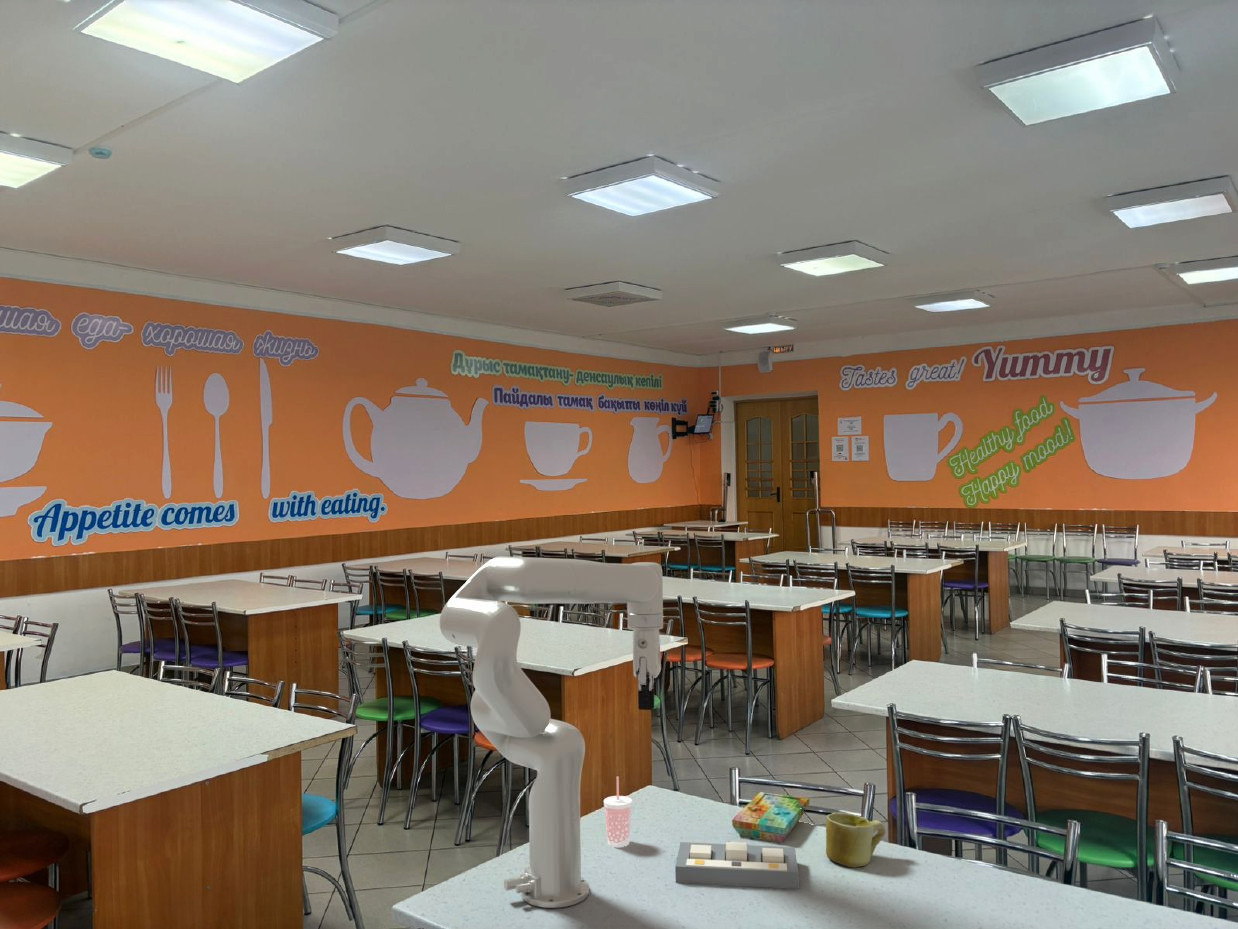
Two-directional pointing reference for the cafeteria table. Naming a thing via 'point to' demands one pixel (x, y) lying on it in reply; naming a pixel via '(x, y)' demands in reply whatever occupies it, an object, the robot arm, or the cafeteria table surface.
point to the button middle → (736, 851)
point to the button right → (772, 855)
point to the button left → (701, 852)
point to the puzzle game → (769, 816)
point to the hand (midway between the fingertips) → (646, 708)
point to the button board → (737, 868)
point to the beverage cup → (618, 819)
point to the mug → (852, 838)
